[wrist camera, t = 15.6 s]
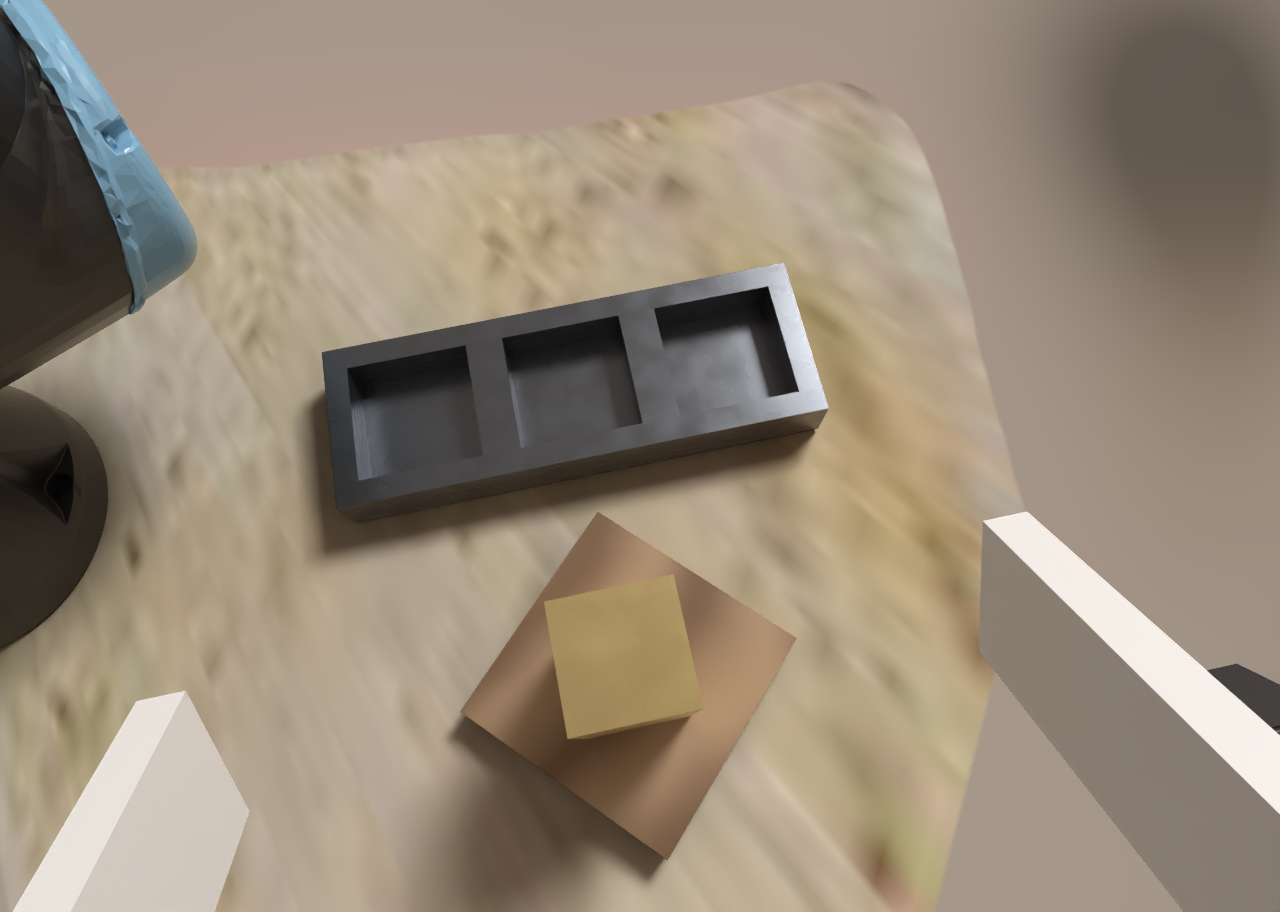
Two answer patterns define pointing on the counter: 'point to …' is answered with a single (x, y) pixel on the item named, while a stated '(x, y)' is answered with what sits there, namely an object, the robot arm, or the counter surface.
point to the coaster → (648, 756)
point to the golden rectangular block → (622, 658)
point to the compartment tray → (568, 392)
